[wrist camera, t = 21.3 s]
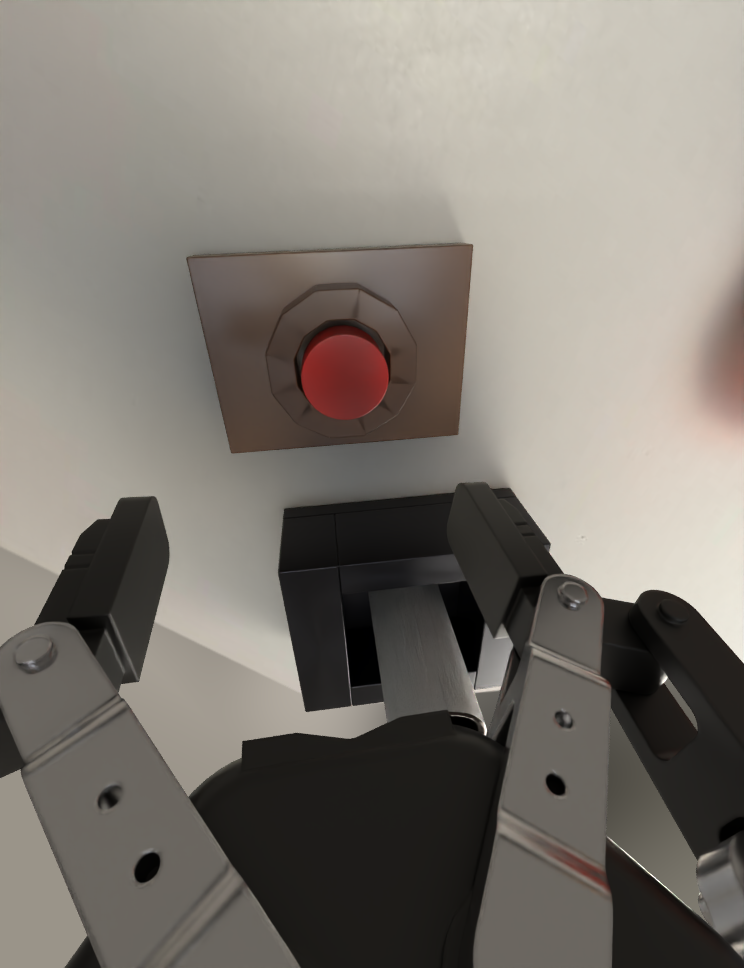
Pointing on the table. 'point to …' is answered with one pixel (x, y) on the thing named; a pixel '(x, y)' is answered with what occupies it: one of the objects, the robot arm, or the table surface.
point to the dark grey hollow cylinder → (421, 657)
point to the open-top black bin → (371, 567)
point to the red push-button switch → (326, 303)
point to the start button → (344, 373)
